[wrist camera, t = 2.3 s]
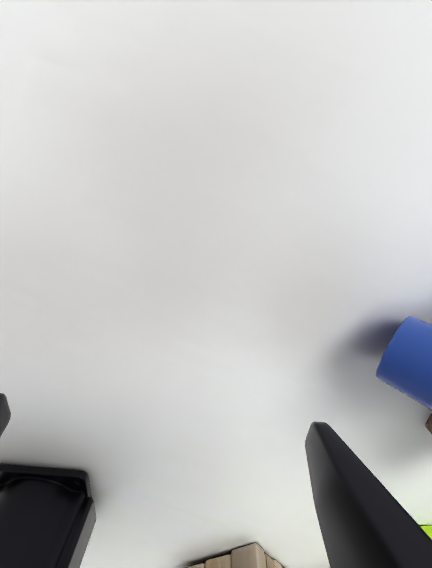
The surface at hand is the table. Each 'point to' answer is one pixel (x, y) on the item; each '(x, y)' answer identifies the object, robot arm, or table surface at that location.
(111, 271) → the table surface
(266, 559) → the block tower
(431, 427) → the walnut block
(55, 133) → the table surface
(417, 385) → the blue tube
